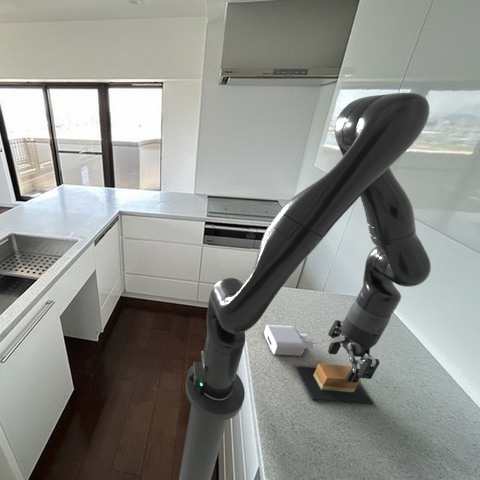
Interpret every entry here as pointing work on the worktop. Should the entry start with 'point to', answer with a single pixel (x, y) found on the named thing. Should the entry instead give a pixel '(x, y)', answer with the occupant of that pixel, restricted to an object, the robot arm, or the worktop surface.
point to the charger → (287, 340)
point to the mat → (329, 395)
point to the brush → (334, 378)
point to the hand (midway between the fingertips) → (340, 366)
